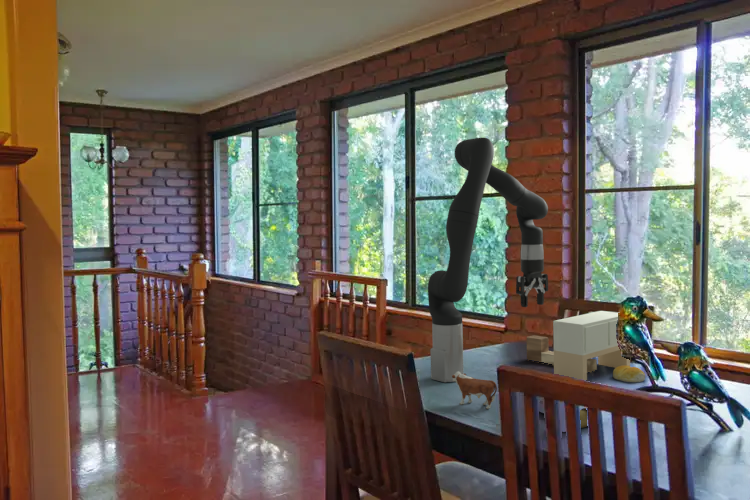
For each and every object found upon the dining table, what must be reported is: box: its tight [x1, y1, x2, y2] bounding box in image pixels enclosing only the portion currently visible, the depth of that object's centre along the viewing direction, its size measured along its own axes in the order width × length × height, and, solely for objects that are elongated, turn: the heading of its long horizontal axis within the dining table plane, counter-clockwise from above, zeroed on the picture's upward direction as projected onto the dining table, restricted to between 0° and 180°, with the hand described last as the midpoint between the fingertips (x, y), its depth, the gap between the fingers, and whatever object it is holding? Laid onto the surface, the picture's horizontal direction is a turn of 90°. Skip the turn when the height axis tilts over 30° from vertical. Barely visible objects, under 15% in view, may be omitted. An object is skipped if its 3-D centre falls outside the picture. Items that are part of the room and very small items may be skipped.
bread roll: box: [612, 365, 646, 383], centre depth 185 cm, size 8×9×4 cm
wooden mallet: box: [526, 334, 598, 373], centre depth 204 cm, size 4×24×8 cm, turn 38°
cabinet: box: [552, 310, 631, 381], centre depth 192 cm, size 26×10×18 cm, turn 129°
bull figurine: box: [452, 371, 498, 410], centre depth 164 cm, size 4×13×8 cm, turn 51°
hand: (532, 305), depth 210 cm, fingers open, 8 cm apart
